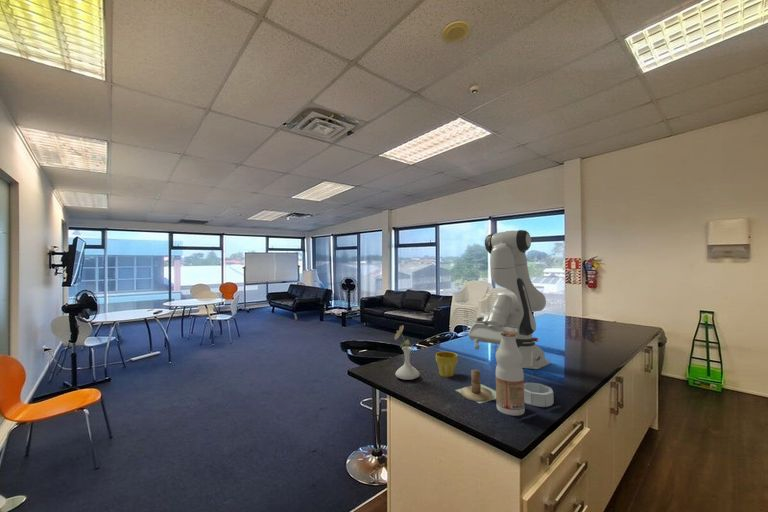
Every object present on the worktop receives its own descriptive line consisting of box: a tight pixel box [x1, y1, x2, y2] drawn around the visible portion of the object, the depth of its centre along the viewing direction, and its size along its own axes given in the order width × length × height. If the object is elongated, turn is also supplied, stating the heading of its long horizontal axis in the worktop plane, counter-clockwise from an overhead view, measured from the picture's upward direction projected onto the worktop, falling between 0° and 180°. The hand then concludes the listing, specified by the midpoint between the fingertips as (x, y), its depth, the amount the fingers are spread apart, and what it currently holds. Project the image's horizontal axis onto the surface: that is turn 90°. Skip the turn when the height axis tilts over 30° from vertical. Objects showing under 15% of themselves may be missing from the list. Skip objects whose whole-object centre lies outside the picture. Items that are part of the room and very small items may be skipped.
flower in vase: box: [393, 324, 421, 381], centre depth 143 cm, size 13×11×25 cm
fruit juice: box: [495, 331, 526, 417], centre depth 110 cm, size 9×9×28 cm
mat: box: [455, 383, 496, 405], centre depth 123 cm, size 14×14×1 cm
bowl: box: [524, 382, 555, 408], centre depth 116 cm, size 11×11×5 cm
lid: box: [460, 368, 492, 402], centre depth 122 cm, size 12×12×9 cm
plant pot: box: [435, 351, 459, 378], centre depth 146 cm, size 10×10×10 cm
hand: (486, 350), depth 130 cm, fingers open, 8 cm apart
